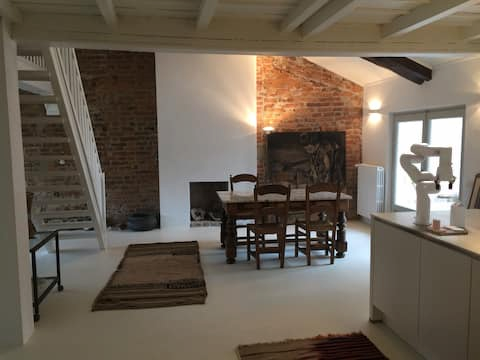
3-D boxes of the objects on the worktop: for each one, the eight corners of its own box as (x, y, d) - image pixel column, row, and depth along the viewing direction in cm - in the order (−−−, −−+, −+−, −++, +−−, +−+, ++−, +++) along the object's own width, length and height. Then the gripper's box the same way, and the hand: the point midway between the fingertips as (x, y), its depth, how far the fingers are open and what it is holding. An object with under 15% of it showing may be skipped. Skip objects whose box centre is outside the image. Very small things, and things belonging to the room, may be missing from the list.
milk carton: (459, 225, 296) (460, 199, 294) (464, 227, 289) (466, 201, 287) (449, 225, 295) (450, 199, 293) (455, 227, 288) (456, 201, 286)
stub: (426, 228, 279) (427, 218, 278) (434, 228, 280) (434, 217, 279) (438, 232, 267) (438, 221, 267) (445, 232, 268) (446, 221, 267)
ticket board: (425, 230, 281) (425, 226, 281) (451, 228, 285) (451, 225, 284) (440, 235, 266) (440, 231, 265) (467, 234, 269) (468, 230, 269)
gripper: (452, 164, 282) (451, 188, 283) (430, 164, 279) (429, 189, 280) (460, 164, 274) (459, 189, 276) (437, 165, 271) (436, 190, 273)
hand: (443, 189), depth 278 cm, fingers open, 9 cm apart
